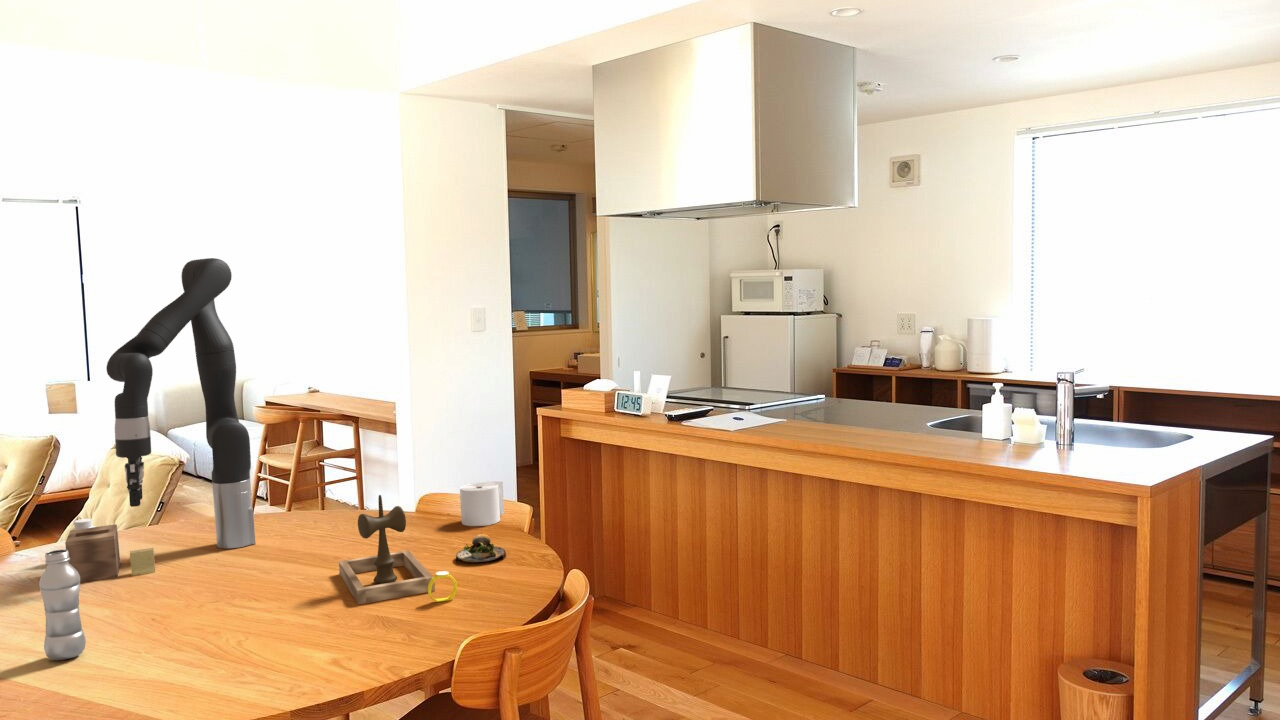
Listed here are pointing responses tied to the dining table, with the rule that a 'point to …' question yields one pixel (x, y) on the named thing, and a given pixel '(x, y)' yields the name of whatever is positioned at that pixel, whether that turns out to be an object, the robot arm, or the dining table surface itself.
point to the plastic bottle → (61, 607)
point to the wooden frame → (388, 589)
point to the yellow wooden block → (142, 561)
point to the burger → (480, 550)
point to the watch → (442, 575)
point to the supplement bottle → (83, 524)
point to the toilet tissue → (481, 503)
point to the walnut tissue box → (94, 552)
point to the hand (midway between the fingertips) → (136, 502)
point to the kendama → (383, 538)
